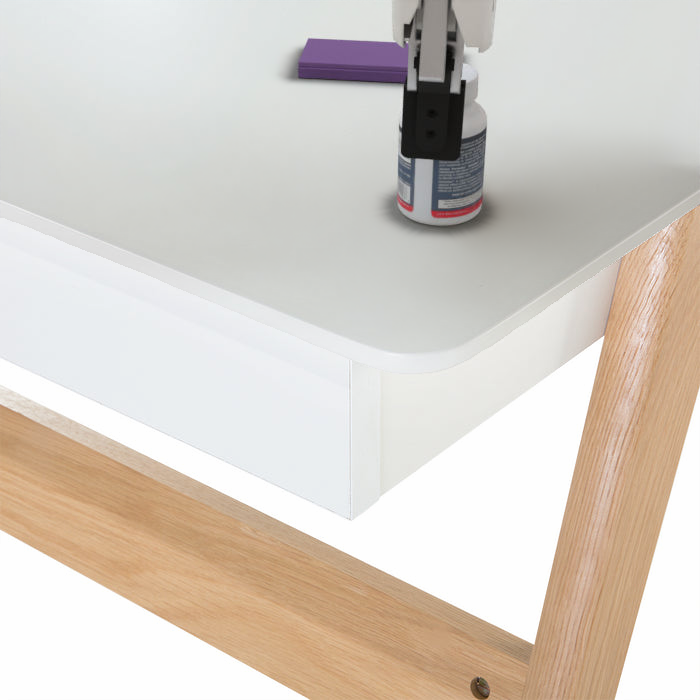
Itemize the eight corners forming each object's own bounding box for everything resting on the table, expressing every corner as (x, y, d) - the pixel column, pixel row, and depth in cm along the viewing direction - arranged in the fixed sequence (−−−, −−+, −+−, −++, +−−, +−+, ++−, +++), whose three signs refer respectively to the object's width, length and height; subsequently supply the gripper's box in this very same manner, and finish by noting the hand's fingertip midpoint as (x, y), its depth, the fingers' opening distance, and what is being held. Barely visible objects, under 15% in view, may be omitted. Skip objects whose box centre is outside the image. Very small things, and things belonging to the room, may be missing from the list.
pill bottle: (494, 200, 78) (505, 65, 73) (461, 235, 74) (469, 95, 69) (418, 182, 80) (423, 49, 75) (382, 215, 76) (385, 78, 71)
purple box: (458, 56, 98) (459, 42, 97) (454, 85, 93) (455, 70, 93) (309, 49, 99) (309, 35, 99) (298, 77, 94) (297, 62, 94)
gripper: (535, -177, 50) (497, 222, 61) (534, -236, 63) (502, 104, 73) (353, -185, 51) (345, 211, 61) (387, -241, 63) (376, 96, 74)
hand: (430, 152), depth 67 cm, fingers closed
